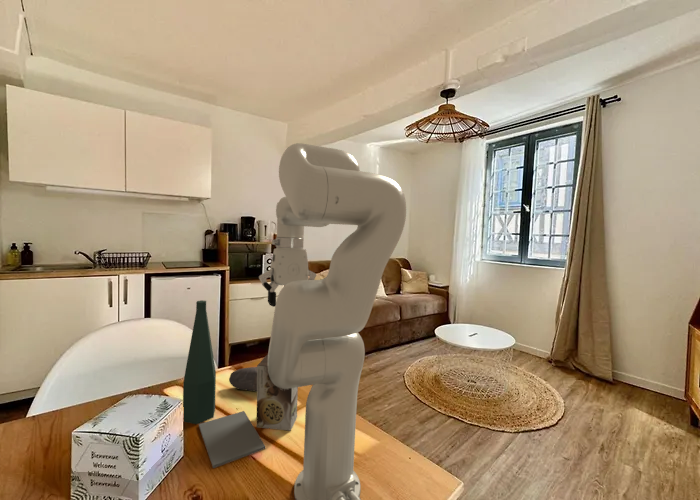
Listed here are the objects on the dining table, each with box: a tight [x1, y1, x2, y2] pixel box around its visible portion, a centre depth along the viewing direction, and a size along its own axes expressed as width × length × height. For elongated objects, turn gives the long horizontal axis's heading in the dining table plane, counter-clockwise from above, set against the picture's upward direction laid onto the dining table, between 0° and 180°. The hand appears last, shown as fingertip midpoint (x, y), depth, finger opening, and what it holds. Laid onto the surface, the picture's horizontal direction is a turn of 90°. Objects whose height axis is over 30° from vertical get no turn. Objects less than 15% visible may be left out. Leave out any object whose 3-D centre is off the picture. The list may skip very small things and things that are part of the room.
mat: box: [198, 410, 267, 469], centre depth 74 cm, size 16×11×1 cm
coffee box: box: [255, 354, 299, 431], centre depth 80 cm, size 9×6×16 cm
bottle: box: [182, 300, 217, 425], centre depth 81 cm, size 8×8×30 cm
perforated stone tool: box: [228, 366, 257, 393], centre depth 96 cm, size 15×5×7 cm, turn 86°
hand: (288, 303), depth 90 cm, fingers open, 9 cm apart
